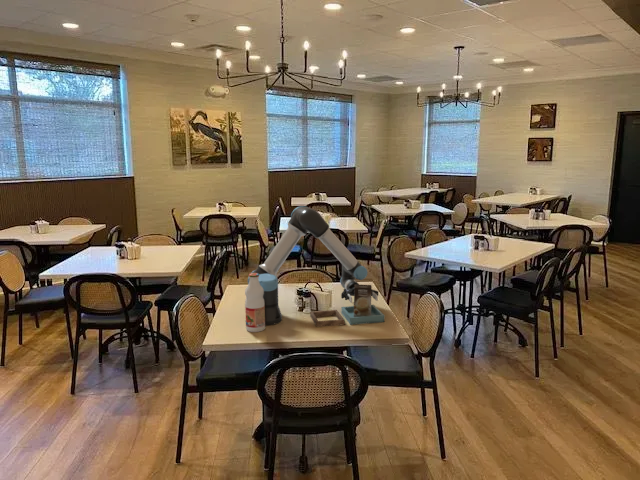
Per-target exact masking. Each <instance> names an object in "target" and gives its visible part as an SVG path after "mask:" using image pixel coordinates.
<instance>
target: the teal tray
mask: <svg viewBox="0 0 640 480" xmlns="http://www.w3.org/2000/svg"><path fill="white" fill-rule="evenodd" d="M340 308H341V311H340V314H341V316H342V317H343V318H344V320H345V321H347V322H348V324H349V325H350V326H352V325H353V324H354V325H364V324H377V323H385V318H386V317H385V314H384V313H383V312H382V311H380V310H379V309H378V307H376V305H374V304H371V316H361V317H354V305H351V306H341V307H340ZM354 325H353V326H354Z"/></svg>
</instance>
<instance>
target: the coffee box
mask: <svg viewBox="0 0 640 480" xmlns="http://www.w3.org/2000/svg"><path fill="white" fill-rule="evenodd" d="M358 284H359V283H358ZM358 284H355V285H354V296H353V306H354V317H361V316H371V305H372V296H371V293H372V289H373V288H372V287H373V286H372V284H359V285H358Z"/></svg>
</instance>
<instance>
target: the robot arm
mask: <svg viewBox="0 0 640 480" xmlns="http://www.w3.org/2000/svg"><path fill="white" fill-rule="evenodd" d="M307 233H310V234H311V235H312V236H313V237H314V238H315V239H319V241H320V242H321V243H322V245H324V246H325V248H327V250H329V251H330V252H331V253H332V256H334V257H335V258H336V259H337V260H338V261H339V262H340V264H341V278H340V280H339V282H340V285H341V287H342V288H343V291H341V294H340V295H341V296H340V297H341V299H343V300H345V301H347V300H348V301H349V302H350V303H353V297H354V285H355V284H358V285H360V283H359V282H357V281H356V280H359V281H360V280H361V281H362V280H364V279H366V278H367V276H368V269H367V268H366V267H365V266H363V265H362V264H361V263H360V262H359V261H358V259H356V257H355V256H354V255H353V254H352V252H351V251H350V250H349V249H348V248H347V247H346V246H345V245H344V243H342V241H341V240H340V239H339V238H338V237H337V236H336V235H335V233H333V231H332V230H331V229H330V225H329V224H328V223H327V221H326V220H325V219H324V218H323V216H322V215H321V214H320V213H319V212H318V211H317V210H315V209H314V208H311V207H308V206H305V205H304V206H302V205H301V206H297V207H296V208H294V209H293V211H292V212H291V214H290V219H289V220H288V222H287V229H286V230H285V231H284V233H283V234H282V236H281V237H280V239H279V241H278V242H277V244H276V245H275V246H274V247H273V249H272V251H271V252H270V253H269V255H268V256H267V258H266V259H265V261H264V262H263V263H262V264H259V265H258V266H257V268H256V269H255V270H252V272H250V273H258V274H259V278H258V279H259V283H260V285H261V286H262V287H263V289H264V294H263V298H264V303H265V326H271V325H277V324H280V323H281V322H282V321H283V315H282V312H281V309H280V306H279V280H278V276H277V275H278V271H279V270H280V268H281V267H282V266H283V265H284V263H285V261H286V259H287V258H288V257H289V255H290V254H291V252H292V251H293V249H295V246H296V245H297V243H298V242H299V241H300V239H301V238H302V237H304V236H307ZM249 281H250V278H249V276H248V278H247V285H248V284H249ZM378 297H379V291H378V290H375V289H373V288H372V293H371V298H373V300H375V301H378V300H379V298H378Z"/></svg>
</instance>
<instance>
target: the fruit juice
mask: <svg viewBox="0 0 640 480" xmlns="http://www.w3.org/2000/svg"><path fill="white" fill-rule="evenodd" d="M248 277H249V278H250V281H249V284H248V283H247V286H246V287H245V290H244V296H245V301H244V302H245V303H244V308H245V309H244V310H245V328H246V331H248V332H249V333H259V332H262V331H264V330H265V329H266V325H265V303H264V298H263V294H264V289H263V287H262V286H261V285H260V283H259V279H258V278H259V274H258V273H251V272H250V273H248Z"/></svg>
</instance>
